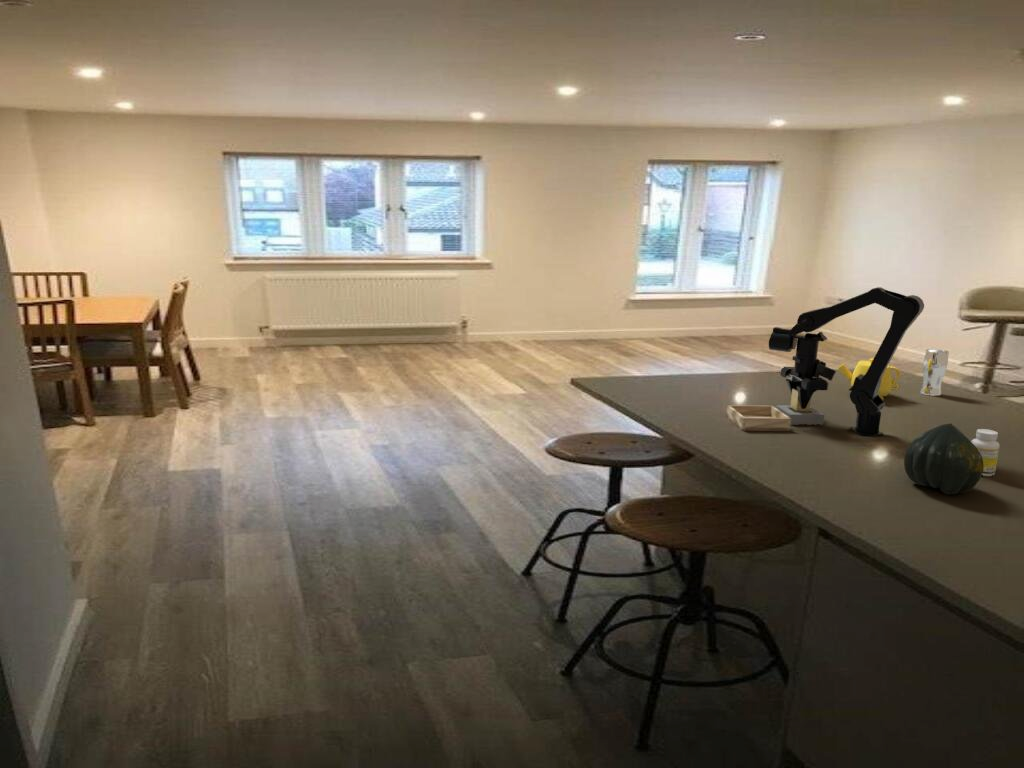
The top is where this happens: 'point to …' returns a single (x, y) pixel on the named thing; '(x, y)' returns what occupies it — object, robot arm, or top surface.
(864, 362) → the teapot
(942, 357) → the beer glass
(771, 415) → the tray
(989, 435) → the supplement bottle
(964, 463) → the squash
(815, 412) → the frame
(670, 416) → the top surface
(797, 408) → the pin
